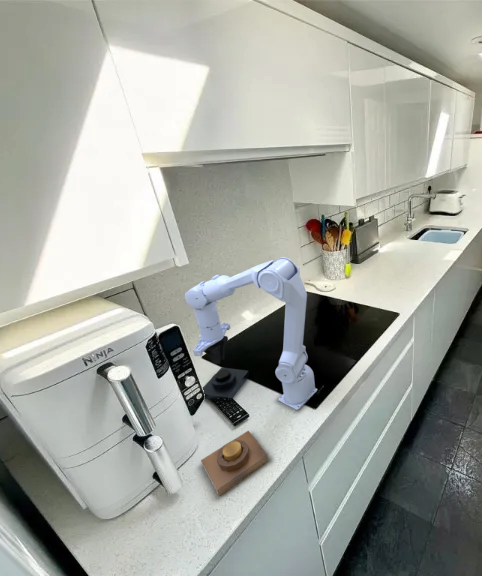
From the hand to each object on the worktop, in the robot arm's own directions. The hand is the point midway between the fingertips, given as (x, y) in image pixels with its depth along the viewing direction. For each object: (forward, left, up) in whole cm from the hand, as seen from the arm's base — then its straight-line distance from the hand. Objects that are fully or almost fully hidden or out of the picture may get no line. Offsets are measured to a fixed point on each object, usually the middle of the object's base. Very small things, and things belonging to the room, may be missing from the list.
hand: (218, 360), depth 95 cm
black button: (0, 0, -7) cm, 7 cm away
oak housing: (+16, +25, -10) cm, 31 cm away
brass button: (+16, +25, -7) cm, 30 cm away
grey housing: (0, 0, -10) cm, 10 cm away
